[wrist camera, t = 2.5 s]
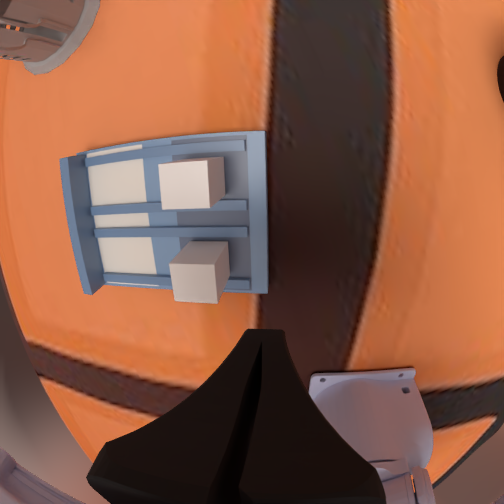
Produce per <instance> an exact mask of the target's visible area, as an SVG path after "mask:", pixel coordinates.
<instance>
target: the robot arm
mask: <svg viewBox="0 0 504 504" xmlns="http://www.w3.org/2000/svg"><path fill="white" fill-rule="evenodd" d="M401 373H402V374H401ZM399 374H400V375H399ZM415 374H416V371H415V368H404V369H393V370H381V371H367V372H347V373H315V374H313V375H312V376H311V379H310V386H309V393H308V391H307V390H306V388H305V386H304V384H303V382H302V381H301V379H300V377H299V375H298V373H297V370H296V368H295V366H294V363H293V361H292V359H291V356H290V353H289V350H288V347H287V343H286V339H285V332H284V331H283V330H273V329H247V330H246V331H245V332H244V334H243V335H242V337H241V338H240V340H239V341H238V343H237V344H236V346H235V347H234V349H233V350H232V351H231V353H230V354H229V355H228V356H227V358H226V359H225V360H224V361H223V363H222V364H221V365H220V366H219V367H218V368H217V369H216V371H215V372H214V373H213V374H212V375H211V376H210V377H209V378H208V379H207V380H206V381H205V382H204V383H203V384H202V385H201V386H200V387H199V388H198V389H197V390H196V391H194V392H193V393H192V394H191V395H190V396H189V397H187V398H186V399H185V400H184V401H182V402H181V403H180V404H178V405H177V406H176V407H174V408H173V409H171V410H170V411H169V412H167V413H166V414H164V415H162V416H161V417H159V418H157V419H156V420H154V421H152V422H150V423H149V424H147V425H145V426H143V427H141V428H140V429H138V430H136V431H133V432H131V433H129V434H126V435H124V436H122V437H119V438H117V439H114V440H112V441H109V442H106V443H105V445H104V446H103V448H102V449H101V451H100V452H99V454H98V456H97V457H96V459H95V461H94V463H93V465H92V467H91V469H90V471H89V473H88V475H87V477H86V478H87V480H88V483H89V484H90V486H91V487H92V488H93V489H94V490H96V491H97V492H98V493H99V494H100V495H101V496H103V497H104V498H105V499H106V500H107V501H108V502H110V503H111V504H436V503H435V498H434V493H433V488H432V484H431V481H430V477H429V474H428V471H427V470H426V469H424V468H425V467H426V466H427V464H428V462H429V460H430V458H431V455H432V450H433V431H432V426H431V422H430V420H429V417H428V414H427V411H426V409H425V406H424V403H423V401H422V398H421V395H420V393H419V390H418V388H417V385H416V383H415V380H414V376H415ZM321 378H324V379H321ZM411 475H413V483H414V488H415V493H414V490H413V485H412V480H411ZM0 504H85V503H83V502H81V501H79V500H77V499H75V498H73V497H71V496H69V495H68V494H66V493H63V492H62V491H60V490H58V489H57V488H55V487H53V486H52V485H50V484H48V483H46V482H45V481H43V480H42V479H40V478H38V477H37V476H35V475H33V474H32V473H31V472H29V471H28V470H26V469H25V468H23V467H22V466H20V465H19V464H18V463H16V461H15V460H14V459H13V458H12V457H11V456H10V455H9V454H8V453H7V452H6V451H5V450H4V449H2V448H1V447H0ZM491 504H504V494H503V495H502V496H500V497H499V498H498V499H497V500H496V501H495V502H493V503H491Z"/></svg>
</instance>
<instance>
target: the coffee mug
mask: <svg viewBox="0 0 504 504" xmlns="http://www.w3.org/2000/svg"><path fill="white" fill-rule="evenodd" d="M497 77H498V85H499V90H500V93H501V96H502V99H503V101H504V56H503V57H502V58H501V59H500V61H499V64H498V69H497Z"/></svg>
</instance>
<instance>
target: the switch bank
mask: <svg viewBox="0 0 504 504" xmlns="http://www.w3.org/2000/svg"><path fill="white" fill-rule="evenodd" d="M210 157H224V176H225V196H224V197H222V198H221V199H220V200H219V201H218V202H217V203H215V204H214V205H213V206H212V207H211V208H198V209H166V210H162V202H161V192H160V180H159V167H158V164H162V163H167V162H172V161H177V160H182V159H194V158H210ZM60 170H61V180H62V188H63V196H64V203H65V209H66V215H67V221H68V227H69V232H70V237H71V242H72V247H73V252H74V256H75V260H76V264H77V269H78V273H79V276H80V280H81V284H82V288H83V291H84V294H89V295H93V294H94V293H95V292H96V291H97V290H98V289H99V288H101V287H102V286H103V285H114V286H127V287H141V288H155V289H172V290H173V287H172V281H171V274H170V267H169V263H170V262H171V261H172V260H173V259H174V258H175V256H176V255H177V254H178V253H179V252H180V251H181V250H182V249H183V248H184V247H185V246H186V245H187V244H188V243H189V242H190V241H228V250H229V266H230V276H229V279H228V281H227V283H226V286H225V288H224V290H223V292H234V293H267V294H268V287H269V252H268V186H267V143H266V131H244V132H224V133H210V134H198V135H187V136H178V137H169V138H161V139H153V140H146V141H139V142H133V143H127V144H121V145H115V146H110V147H104V148H99V149H94V150H89V151H85V152H80V153H77V156H71V157H65V158H61V159H60Z"/></svg>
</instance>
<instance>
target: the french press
mask: <svg viewBox="0 0 504 504" xmlns="http://www.w3.org/2000/svg"><path fill="white" fill-rule="evenodd" d="M99 6H100V0H0V23H1V27H0V56H2V57H3V58H0V59H7V60H17V61H23V63H24V66H25V69H27V70H28V71H30V72H31V73H33V74H34V75H36V74H43V73H48V72H50V71H51V70H53V69H55V68H56V67H58V66H59V65H61V64H63V63H64V62H65V61H66V60H67V58H68V57H69V56H70V55H71V54H72V53H73V52H74V51H75V50H76V49H77V48H78V47H79V46H80V44H81V42H82V41H83V39H84V38H85V36H86V35H87V33H88V31H89V30H90V28H91V27H92V25H93V22H94V20H95V17H96V14H97V12H98V9H99ZM6 25H11V27H10V29H6ZM16 26H17V27H20V30H19V31H15V29H16ZM8 55H10V56H8ZM9 58H13V59H9Z"/></svg>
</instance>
